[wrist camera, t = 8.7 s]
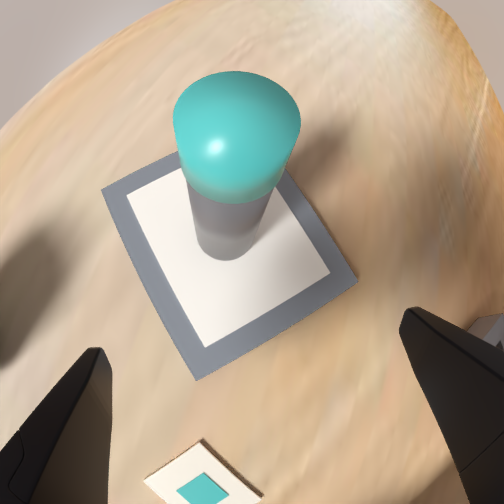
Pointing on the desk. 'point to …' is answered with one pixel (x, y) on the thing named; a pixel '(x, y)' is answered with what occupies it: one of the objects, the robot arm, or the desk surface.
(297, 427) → the desk surface
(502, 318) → the button housing
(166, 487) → the card
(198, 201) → the ball
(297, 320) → the pad
